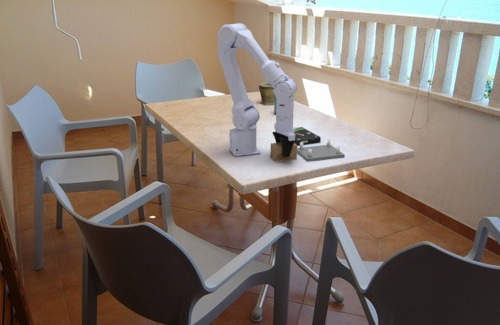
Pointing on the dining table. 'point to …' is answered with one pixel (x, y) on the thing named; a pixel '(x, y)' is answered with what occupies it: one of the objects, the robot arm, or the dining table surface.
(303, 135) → the disk drive
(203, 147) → the dining table surface
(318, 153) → the standoff plate
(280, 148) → the walnut block
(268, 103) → the olive green plant pot
